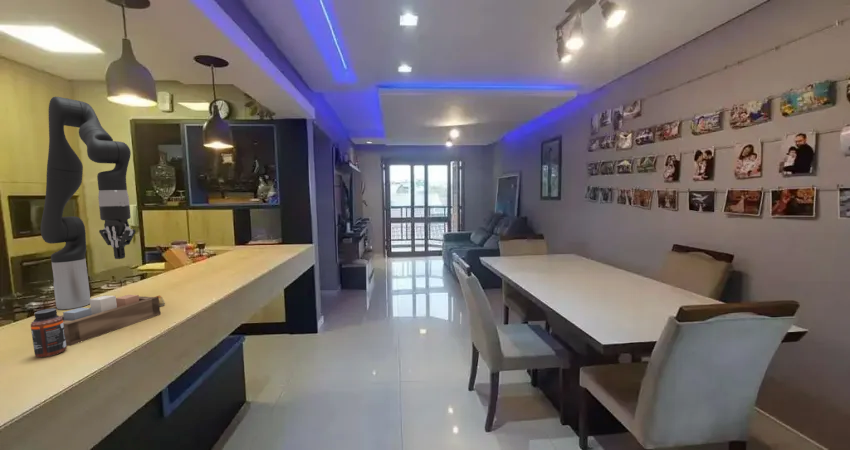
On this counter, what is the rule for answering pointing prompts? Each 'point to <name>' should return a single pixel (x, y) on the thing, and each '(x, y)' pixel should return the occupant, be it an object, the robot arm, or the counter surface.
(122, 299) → the pink block
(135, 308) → the brown wooden tray
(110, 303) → the white block
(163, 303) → the pastry
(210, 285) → the counter surface
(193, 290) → the counter surface
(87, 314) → the slate key
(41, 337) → the supplement bottle
